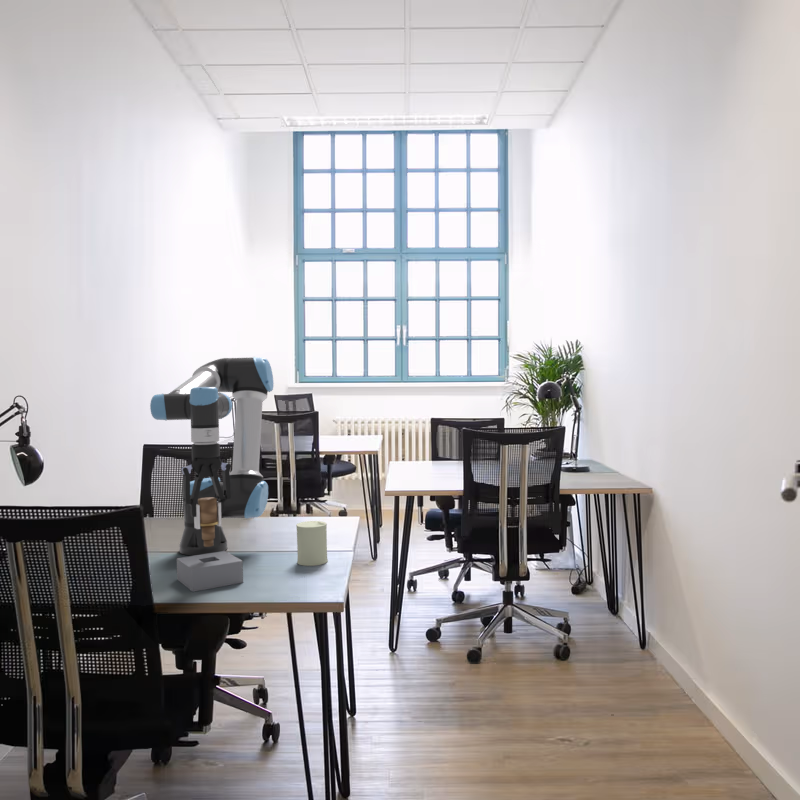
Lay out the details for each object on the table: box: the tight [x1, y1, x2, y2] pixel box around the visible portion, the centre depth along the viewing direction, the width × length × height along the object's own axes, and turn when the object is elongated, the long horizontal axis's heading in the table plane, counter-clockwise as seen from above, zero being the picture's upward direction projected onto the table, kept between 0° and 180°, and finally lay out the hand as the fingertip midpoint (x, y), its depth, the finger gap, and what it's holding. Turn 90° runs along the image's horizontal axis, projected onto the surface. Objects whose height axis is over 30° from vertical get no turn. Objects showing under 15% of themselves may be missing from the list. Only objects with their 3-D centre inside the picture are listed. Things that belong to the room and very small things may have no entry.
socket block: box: [176, 550, 244, 593], centre depth 204 cm, size 14×14×6 cm
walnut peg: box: [198, 497, 218, 547], centre depth 203 cm, size 5×5×13 cm
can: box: [296, 520, 329, 567], centre depth 222 cm, size 9×9×12 cm
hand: (208, 526), depth 203 cm, fingers closed on walnut peg, 5 cm apart
